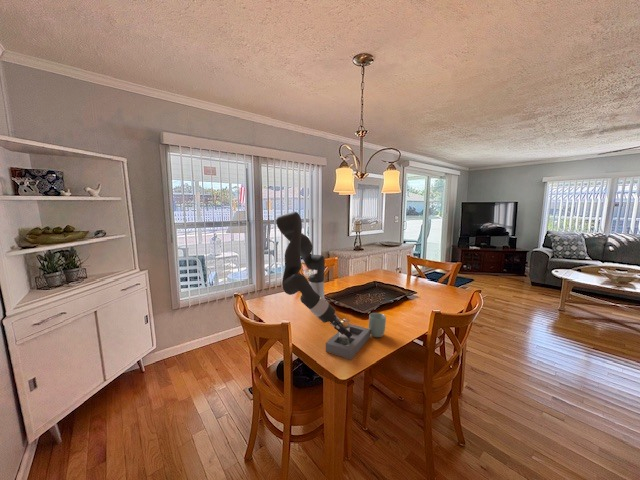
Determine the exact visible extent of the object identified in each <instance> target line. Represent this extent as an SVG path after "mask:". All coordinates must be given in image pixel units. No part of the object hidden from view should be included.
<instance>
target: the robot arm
mask: <svg viewBox="0 0 640 480" xmlns="http://www.w3.org/2000/svg"><path fill="white" fill-rule="evenodd" d="M275 221H276V226H277V228H278V230H279V231H280V233H281V234H282V235H283V236H284V237H285V238H286V239H287V240H288V241H289V243H288V245H287V246H286V248H285V252H284V271H283V276H282V281H281V283H282V290H283V291H284V293H285V294H287V295H289V296H293V295H295V294H296V293H298V292H300V293H301V295H300V302H301V303H302V304H303V305H304V306H305V307H306V308H308V310H309V311H310V312H311V313H312V314H313V315H314V316H316V317H317V319H318V320H320V322H322V323H325V324H326V323H328V322H329V323H330V326H332V327H333V328H334V329H335V331H337V332H340V333H341V334H342V335H343V334H344V335H345V336H347V337H348V338H350V337H351V336H352V334H351V333H350V332H349V331H348V330H347V329H346V328H345V327H344V326H343V323H342V322H341V321H340V320H341V318H340V317H338V315H337V314H336V308H335V307H334V306H332V305H331V304H330V303H329V302H328V301H327V300H326V299H325V283H324V282H325V269H326V268H325V265H326V264H325V263H326V259H325V256H324V255H320V254H312V252H313V248H314V247H313V243H312V241H311V240H310V238H309V236H307V235H305V234H304V233H303V231H302V230H303V221H302V218H301V216H300V214H299V212H298V211H291V212H289V213H288V212H287V213H285V214H281V215H279V216H278V217H277V218H276V220H275ZM302 260H303V263H304V264H305V266H306V268H307V269H309V270H311V271H312V270H314V271H316V273H313V274H310V275H308V279H307V277H305V275H303V274H301V273H300V271H301V269H302ZM340 324H341V325H340Z"/></svg>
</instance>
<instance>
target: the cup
mask: <svg viewBox="0 0 640 480" xmlns="http://www.w3.org/2000/svg"><path fill="white" fill-rule="evenodd" d="M386 323H387V317H386V315H385V314H384V313H380V312H371V313H369V317H368V329H370V332H371V333H370V336H372V337H374V338H381V337H383V336H384V335H385V331H386Z"/></svg>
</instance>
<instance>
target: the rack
mask: <svg viewBox="0 0 640 480" xmlns="http://www.w3.org/2000/svg"><path fill="white" fill-rule="evenodd" d="M349 332H350V333H351V334H352V336H351V337H350V338H349V344H348V345H343V344H340V343H339V332H338V331H337V332H336V333H335V334H334V335H333V336H332V337H331V338H329V339H328V340H327V341H326V342H325V353H329V354H331V355H335V356H338V357H341V358H344V359H347V360H351V361H352V359H353V358H355V356H356V355H357V354H358V352H359V351H360V350H361V349H362V348H363V346H364V345H365V344H367V342H368V340H370V338H371V334H370V333H371V332H370V329H369V328H366V327H363V326H360V325H356V324H352V323H350V329H349Z"/></svg>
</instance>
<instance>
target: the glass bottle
mask: <svg viewBox="0 0 640 480" xmlns="http://www.w3.org/2000/svg"><path fill="white" fill-rule="evenodd" d="M340 321H341V322H342V323H343V326H344V327H345V328H346V329H347V330H348V331H349V329H350V324H351V323H350V319H347V318H340ZM340 325H341V324H340ZM339 343H340V344H343V345H348V344H349V338H348V337H347V336H345V335H344V334H343V335H342V334H341V333H340V332H339Z"/></svg>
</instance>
